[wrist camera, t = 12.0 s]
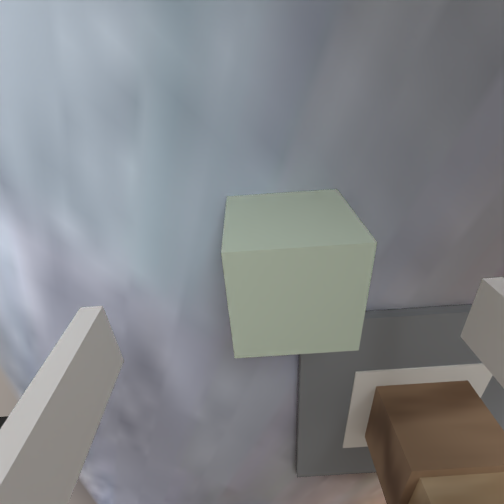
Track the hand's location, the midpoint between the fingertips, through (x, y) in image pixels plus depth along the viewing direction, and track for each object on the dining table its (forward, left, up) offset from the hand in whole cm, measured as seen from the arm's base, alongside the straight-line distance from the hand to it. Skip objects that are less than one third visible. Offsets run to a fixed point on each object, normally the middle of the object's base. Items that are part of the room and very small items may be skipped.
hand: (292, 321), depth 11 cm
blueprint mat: (+14, +9, -5) cm, 17 cm away
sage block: (0, 0, -5) cm, 5 cm away
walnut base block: (+14, +9, -4) cm, 17 cm away
